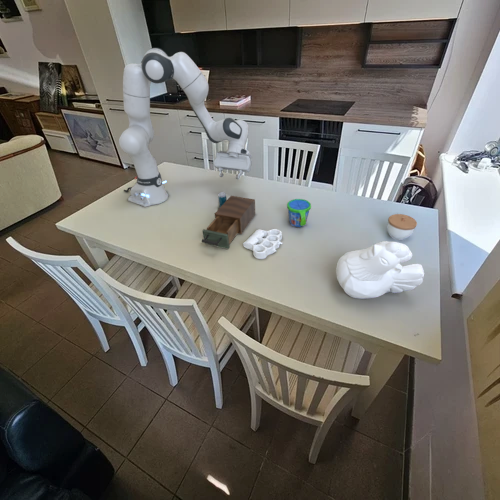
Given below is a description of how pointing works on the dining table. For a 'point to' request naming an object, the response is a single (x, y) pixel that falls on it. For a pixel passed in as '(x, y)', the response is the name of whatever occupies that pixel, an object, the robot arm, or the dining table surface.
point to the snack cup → (298, 211)
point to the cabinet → (238, 210)
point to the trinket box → (400, 226)
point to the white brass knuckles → (264, 242)
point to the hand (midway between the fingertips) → (229, 177)
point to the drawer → (221, 232)
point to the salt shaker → (221, 198)
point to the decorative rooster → (378, 271)
